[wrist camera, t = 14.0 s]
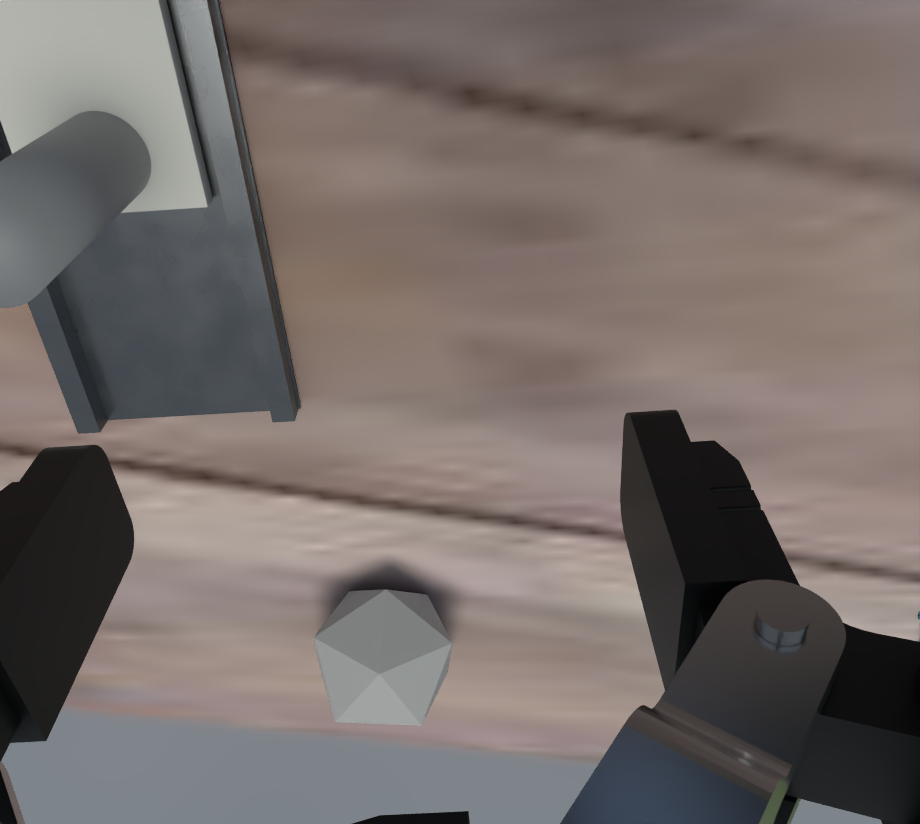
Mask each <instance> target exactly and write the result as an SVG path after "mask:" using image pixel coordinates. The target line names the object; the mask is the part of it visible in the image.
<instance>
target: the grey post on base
mask: <svg viewBox="0 0 920 824" xmlns="http://www.w3.org/2000/svg"><path fill="white" fill-rule="evenodd" d="M0 121H1V124H2V127H3V130H4V132H5V135H6V138H7V141H8V144H9V146H10V149H11V152H12V154H11V155H10V156H8V157H6V158H5V159H3V160H2V161H0V308H10V307H16V306H20V305H23V304H25V303H27V302H29V301H31V300H32V299H34V298H35V297H36V296H37V295H38V294H39V293H40V292H41V291H42V290H43V289H44V288H45V287H46V286H47V285H48V284H49V283H50V282H51V281H52V280H53V279H54V278H55V277H56V276H57V275H58V274H59V273H60V272H61V271H62V270H63V269H64V268H65V267H66V266H67V265H68V264H69V263H70V262H71V261H72V260H73V259H74V258H75V257H76V256H77V255H78V254H79V253H80V252H81V251H82V250H83V249H85V248H86V247H87V246H88V245H89V244H90V243H91V242H92V241H93V240H94V239H95V238H96V237H97V236H98V235H99V234H100V233H101V232H102V231H103V230H104V229H105V228H106V227H107V226H108V225H109V224H110V223H111V222H112V221H113V220H114V219H115V218H116V217H117V216H118V215H119V214H120V213H127V212H142V211H157V210H172V209H188V208H203V207H208V206H209V205H210V203H211V202H212V201H213V198H212V193H211V189H210V185H209V180H208V176H207V172H206V168H205V163H204V159H203V155H202V150H201V146H200V142H199V138H198V133H197V129H196V125H195V120H194V116H193V112H192V108H191V103H190V99H189V95H188V90H187V86H186V82H185V78H184V73H183V69H182V65H181V60H180V56H179V52H178V48H177V43H176V39H175V35H174V31H173V26H172V22H171V18H170V13H169V9H168V5H167V1H166V0H0Z"/></svg>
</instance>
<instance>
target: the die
mask: <svg viewBox="0 0 920 824" xmlns="http://www.w3.org/2000/svg"><path fill="white" fill-rule="evenodd" d="M313 638H314V642H315V647H316V651H317V656H318V660H319V665H320V669H321V672H322V676H323V680H324V683H325V687H326V691H327V694H328V698H329V702H330V705H331V709H332V713H333V716H334V720H335V722H343V723H370V724H396V725H422V723H423V721H424V719H425V717H426V715H427V713H428V711H429V709H430V707H431V705H432V703H433V701H434V699H435V697H436V695H437V693H438V691H439V689H440V686H441V684H442V682H443V680H444V678H445V676H446V674H447V672H448V667H449V660H450V654H451V648H452V642H451V640H450V638H449V636H448V634H447V632H446V630H445V628H444V626H443V624H442V622H441V620H440V618H439V616H438V614H437V612H436V611H435V609H434V607H433V605H432V603H431V601H430V599H429V597H428V595H426V594H418V593H410V592H403V591H395V590H387V589H383V590H364V591H349V592H348V593H347V594H346V596H345V597H344V598H343V600H342V601H341V602H340V604H339V605H338V606H337V607H336V609H335V610H334V611H333V613H332V614H331V615H330V617H329V618H328V619H327V620H326V622H325V623H324V624H323V626H322V627H321V628H320V630H319V631H318V632H317V634H316V635H315V636H314V637H313Z"/></svg>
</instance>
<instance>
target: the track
mask: <svg viewBox="0 0 920 824" xmlns="http://www.w3.org/2000/svg"><path fill="white" fill-rule="evenodd" d="M166 1H167V5H168V9H169V13H170V18H171V22H172V26H173V31H174V35H175V39H176V43H177V48H178V52H179V56H180V60H181V65H182V69H183V73H184V78H185V82H186V86H187V90H188V95H189V99H190V103H191V108H192V112H193V116H194V120H195V125H196V129H197V133H198V138H199V142H200V146H201V150H202V155H203V159H204V163H205V168H206V172H207V176H208V180H209V185H210V189H211V193H212V198H213V201H212V202H211V203H210V205H209V206H208V207H203V208H188V209H172V210H157V211H142V212H127V213H120V214H119V215H118V216H117V217H116V218H115V219H114V220H113V221H112V222H111V223H110V224H109V225H108V226H107V227H106V228H105V229H104V230H103V231H102V232H101V233H100V234H99V235H98V236H97V237H96V238H95V239H94V240H93V241H92V242H91V243H90V244H89V245H88V246H87V247H86V248H85V249H83V250H82V251H81V252H80V253H79V254H78V255H77V256H76V257H75V258H74V259H73V260H72V261H71V262H70V263H69V264H68V265H67V266H66V267H65V268H64V269H63V270H62V271H61V272H60V273H59V274H58V275H57V276H56V277H55V278H54V279H53V280H52V281H51V282H50V283H49V284H48V285H47V286H46V287H45V288H44V289H43V290H42V291H41V292H40V293H39V294H38V295H37V296H36V297H35V298H34V299H32V300H31V301H29V302H28V305H29V308H30V310H31V313H32V315H33V318H34V321H35V323H36V326H37V328H38V331H39V333H40V336H41V339H42V341H43V344H44V346H45V349H46V352H47V354H48V357H49V359H50V362H51V364H52V367H53V370H54V372H55V375H56V377H57V380H58V383H59V385H60V388H61V390H62V393H63V396H64V398H65V401H66V403H67V406H68V408H69V411H70V414H71V416H72V419H73V421H74V424H75V427H76V429H77V432H78V434H79V433H97V432H101V430H102V429H103V427H104V425H105V424H106V422H107V421H108V420H117V419H134V418H151V417H168V416H186V415H203V414H220V413H237V412H254V411H270V413H271V417H272V422H287V421H295V419H296V415H297V412H298V409H300V408H301V405H300V400H299V395H298V390H297V386H296V381H295V376H294V371H293V366H292V361H291V356H290V351H289V346H288V341H287V336H286V331H285V326H284V321H283V316H282V311H281V306H280V302H279V297H278V292H277V287H276V282H275V277H274V272H273V267H272V262H271V257H270V252H269V247H268V242H267V237H266V232H265V227H264V222H263V217H262V213H261V208H260V203H259V198H258V193H257V188H256V183H255V178H254V173H253V168H252V163H251V158H250V153H249V148H248V143H247V138H246V133H245V129H244V124H243V119H242V114H241V109H240V104H239V99H238V94H237V89H236V84H235V79H234V74H233V69H232V64H231V59H230V54H229V49H228V45H227V40H226V35H225V30H224V25H223V20H222V15H221V10H220V5H219V0H166ZM11 154H12V152H11V149H10V146H9V144H8V141H7V138H6V135H5V132H4V130H3V127H2V124H1V121H0V161H2V160H3V159H5V158H6V157H8V156H10V155H11Z"/></svg>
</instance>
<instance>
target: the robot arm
mask: <svg viewBox="0 0 920 824" xmlns="http://www.w3.org/2000/svg"><path fill="white" fill-rule="evenodd" d="M620 503H621V516H622V524H623V530H624V534H625V538H626V542H627V546H628V550H629V554H630V558H631V561H632V565H633V569H634V573H635V577H636V581H637V584H638V588H639V592H640V596H641V600H642V604H643V608H644V611H645V615H646V619H647V623H648V627H649V631H650V634H651V638H652V642H653V646H654V650H655V654H656V658H657V661H658V665H659V669H660V673H661V677H662V681H663V685H664V688H665V692H664V694H663V695H662V697H661V699H660V700H659V702H658V703H657V704H656V706H655V707H654V708H652V709H651V708H649V707H647V706H644V705H643V706H640V707H639V708H637V709H636V710H635V711H634V712H633V713H632V714H631V716H630V717H629V718H628V720H627V721H626V723H625V724H624V726H623V727H622V729H621V730H620V732H619V733H618V735H617V736H616V738H615V740H614V741H613V743H612V744H611V746H610V747H609V749H608V750H607V752H606V753H605V755H604V757H603V758H602V760H601V761H600V763H599V764H598V766H597V767H596V769H595V770H594V772H593V774H592V775H591V777H590V778H589V780H588V781H587V783H586V785H585V786H584V788H583V789H582V791H581V792H580V794H579V795H578V797H577V798H576V800H575V801H574V803H573V805H572V806H571V808H570V809H569V811H568V812H567V814H566V816H565V817H564V818H563V820H562V822H561V823H560V824H790V823H791V821H792V818H793V816H794V814H795V812H796V809H797V807H798V804H799V802H800V800H801V799H804V800H808V801H811V802H815V803H819V804H823V805H827V806H831V807H834V808H838V809H842V810H846V811H850V812H854V813H858V814H861V815H866V816H869V817H873V818H877V819H881V821H882V824H920V642H917V641H912V640H907V639H902V638H897V637H892V636H887V635H881V634H876V633H872V632H868V631H864V630H860V629H858V628H855V627H852V626H849V625H847V624H845V623H843V622H842V620H841V618H840V616H839V615H838V613H837V612H836V611H835V609H834V608H833V607H832V606H831V605H830V604H829V603H828V602H827V601H825V600H824V599H823V598H821V597H820V596H819V595H817V594H815V593H814V592H812V591H810V590H808V589H806V588H804V587H801V586H800V585H799V583H798V581H797V579H796V577H795V575H794V573H793V571H792V569H791V567H790V565H789V563H788V561H787V559H786V557H785V554H784V552H783V550H782V548H781V546H780V544H779V542H778V540H777V538H776V536H775V534H774V532H773V530H772V528H771V526H770V524H769V522H768V520H767V517H766V515H765V513H764V511H763V510H761V508H760V506H761V505H760V503H759V501H758V499H757V497H756V495H755V493H754V491H753V490H751V485H750V483H749V480H748V478H747V476H746V474H745V472H744V470H743V468H742V466H741V464H740V462H739V461H738V460H737V459H736V458H735V457H734V456H732V455H731V454H730V453H729V452H728V451H726V450H725V449H724V448H723V447H722V446H720V445H719V444H718V443H717V442H716V441H700V442H690V439H689V437H688V434H687V432H686V430H685V427H684V425H683V422H682V420H681V418H680V415H679V413H678V412H677V411H676V410H663V411H648V412H632V413H626V415H625V418H624V427H623V448H622V468H621V489H620ZM133 547H134V530H133V524H132V521H131V518H130V515H129V512H128V510H127V507H126V505H125V502H124V499H123V497H122V494H121V492H120V489H119V486H118V484H117V481H116V479H115V476H114V474H113V471H112V468H111V466H110V463H109V461H108V458H107V456H106V454H105V452H104V451H103V449H102V448H101V447H99V446H97V445H84V446H68V447H53V448H46V449H44V450H42V451H41V452H40V453H39V454H38V456H37V457H36V459H35V460H34V461H33V463H32V464H31V466H30V467H29V469H28V470H27V471H26V473H25V474H24V476H23V477H22V478H21V480H20V481H19V482H12V483H10V484H9V485H8V486H7V487H5V488H4V489H3V490H1V491H0V824H25V822H24V819H23V816H22V813H21V810H20V807H19V804H18V801H17V798H16V795H15V792H14V789H13V786H12V783H11V780H10V777H9V774H8V772H7V770H6V768H5V766H4V765H3V763H2V762H1V760H2V758H3V755H4V754H5V752H6V750H7V748H8V746H9V744H10V743H15V742H35V741H46V740H47V738H48V736H49V734H50V732H51V730H52V727H53V725H54V723H55V721H56V719H57V717H58V714H59V712H60V710H61V708H62V706H63V704H64V702H65V700H66V697H67V695H68V693H69V691H70V689H71V687H72V685H73V682H74V680H75V678H76V676H77V674H78V672H79V670H80V668H81V665H82V663H83V661H84V659H85V657H86V655H87V653H88V650H89V648H90V646H91V644H92V642H93V640H94V638H95V635H96V633H97V631H98V629H99V627H100V625H101V623H102V620H103V618H104V616H105V614H106V612H107V610H108V608H109V605H110V603H111V601H112V599H113V597H114V595H115V593H116V590H117V588H118V586H119V584H120V582H121V580H122V578H123V575H124V573H125V571H126V569H127V567H128V565H129V563H130V560H131V557H132V553H133ZM353 824H470V822H469V813H468V811H465V812H444V813H423V814H401V815H380V816H377V817H373V818H370V819H367V820H363V821H360V822H356V823H353Z"/></svg>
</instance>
